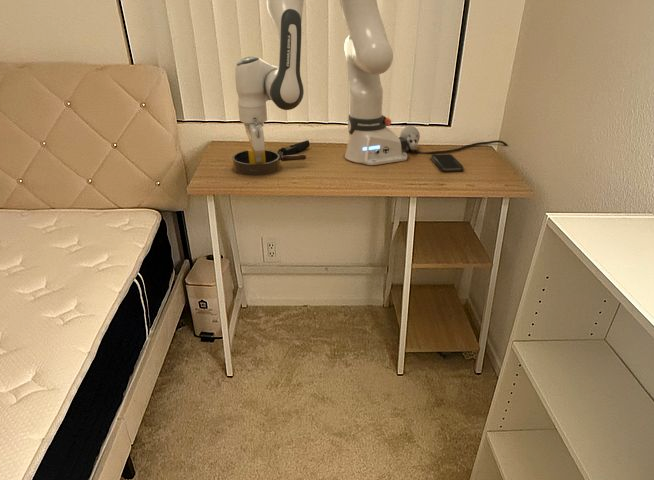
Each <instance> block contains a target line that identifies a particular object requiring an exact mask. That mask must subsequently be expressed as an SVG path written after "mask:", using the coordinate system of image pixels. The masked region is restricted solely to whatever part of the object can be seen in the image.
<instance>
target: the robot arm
mask: <svg viewBox="0 0 654 480" xmlns="http://www.w3.org/2000/svg"><path fill="white" fill-rule="evenodd" d="M377 1H378V0H339V4H340V5H339V6H340V9H341V15H342V17H343V20H344V22H345V24H346V27H347V30H348V33H349V34H348V35H347V37H346V38H345V41H344V45H343V51H344V54H345V61H346V68H347V69H346V70H347V77H348V84H349V114H348V119H347V132H348V139H347V144H346V149H345V153H344V158H345V159H346V160H347V161H350V162H352V163H353V162H354V163H358V164H363V165H367V166H376V165H383V164H384V165H385V164H392V163H397V162H404V161H407V160H408V153H407V151H406V152H405V151H404V150H403V149H406V146H407V145H408V144H407V141H406V140H405V139H404V138H402V137H400V136H398V135H397V134H396V133H395V132H393V130H391V129H390V128H389V127H387V126H390V125H391V124H392V119H390V117H386V116H385V115H383V100H384V99H383V98H384V96H383V95H384V90H383V87H382V82H381V76H380V75H382V74H384V73H385V72H387V71H388V70H390V68H391V66H392V64H393V60H394V51H393V48H392V46H391V44H390V42H389V40H388V35H387V33H386V29H385V26H384V23H383V19H382V16H381V13H380V10H379V6H378V2H377ZM304 2H305V0H266V8H267V9H266V10H267V12H268V14H269V16H270V18H271V20H272V21H273V23H274V25H275V27H276V30H277V32H278V40H279V41H278V42H279V43H278V66H276V65H272V64H270V63H268V62H266V61H264V60H263V59H262V58H260V57H259V56H255V55H252V56H246V57H243V58H241V59H240V60H238V61H237V62H236V64H235V70H234V71H235V73H234V77H235V78H234V79H235V90H236V93H237V96H238V101H237V108H238V115H239V116H238V117H239V122H241V123H243V126H244V129H245V133H246V137H247V139H248V142H249V143H250V146H251V148H253V151H254V153H255V160H256V162H261V153H262V152H265V150H266V144H265V135H264V128H263V127H264V126H265V122H267V121H268V111H267V102H268V101H272V102H273V104H274V105H275V106H276V107H277V108H279V109H281V110H284V111H291V110H293V109H295V108H297V107H298V106H299V105H300V104H301V103H302V101H303V99H304V92H305V91H304V83H303V81H302V77H301V56H302V55H301V53H302V26H303V24H302V22H303V11H304ZM496 143H500V144H503V145H504V146H506V147H509V146H508V143H506V142H505V141H503V140H499V139H498V140H490V141H480V142H475V143H470V144H466V145H464V146H461V147H458V148H457V147H456V148H453V149H447V150H435V151H426V152H425V151H424V152H422V151H418V150H417V151H416V150H413V151H414V152H413V153H416V154H421V155H435V154H448V153H453V152H457V151H462V150H464V149H467V148H470V147H474V146H479V145H489V144H496Z"/></svg>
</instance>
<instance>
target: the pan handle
mask: <svg viewBox="0 0 654 480" xmlns="http://www.w3.org/2000/svg"><path fill="white" fill-rule="evenodd" d="M305 160H307V155H306V154H305V153H304V154H303V153H301V154H290V155H286V156H281V157H280V162H295V161H305Z"/></svg>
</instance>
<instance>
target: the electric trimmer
mask: <svg viewBox="0 0 654 480" xmlns="http://www.w3.org/2000/svg"><path fill="white" fill-rule="evenodd" d="M309 147H310V140H309V139H308V140H307V139H306V140H304V141H300V142H298V143H293V144H292V145H291V144H290V145H289V146H286V147H281V148H280V149H278V151H277V152H276V153H278V154H279V156H280V157H281V156H286V155H293V154H295V153H300V152H303V151H305V150H306V149H308V148H309Z"/></svg>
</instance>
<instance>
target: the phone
mask: <svg viewBox="0 0 654 480" xmlns="http://www.w3.org/2000/svg"><path fill="white" fill-rule="evenodd" d="M430 155H431V156H430V160H431V161H432V162H433V163H434V165H435V166H436V167H437V168H438V169H439V170H440V171H441V172H442V173H456V172H457V173H458V172H464V165H463V164H461V163H460V161H459V160H458V159H456V157H455V156H454V155H453V154H449V153H441V154H430Z"/></svg>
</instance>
